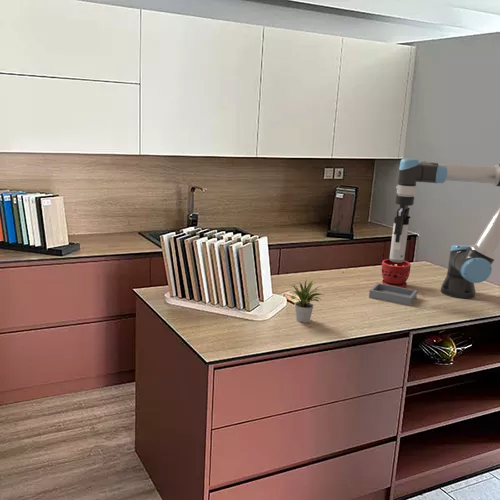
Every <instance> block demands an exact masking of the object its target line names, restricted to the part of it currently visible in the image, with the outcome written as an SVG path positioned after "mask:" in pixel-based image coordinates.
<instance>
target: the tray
mask: <svg viewBox="0 0 500 500" xmlns="http://www.w3.org/2000/svg"><path fill="white" fill-rule="evenodd" d="M368 293H369V294H368V295H369V296H368V298H369V299H373V300H378V301H379V300H380V301H383V302H388V303H394V304H398V305H404V306H408V307H410V306H412V304H413V303H414V302H415V300H416V299H417V297H418V295H417V294H418V290H416V289H412V288H406V287H404V288H401V287H396V286H391V285H385V284H383V283H380V282H377V283H375V284H374V286H372V288H370V289H369V292H368Z"/></svg>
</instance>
